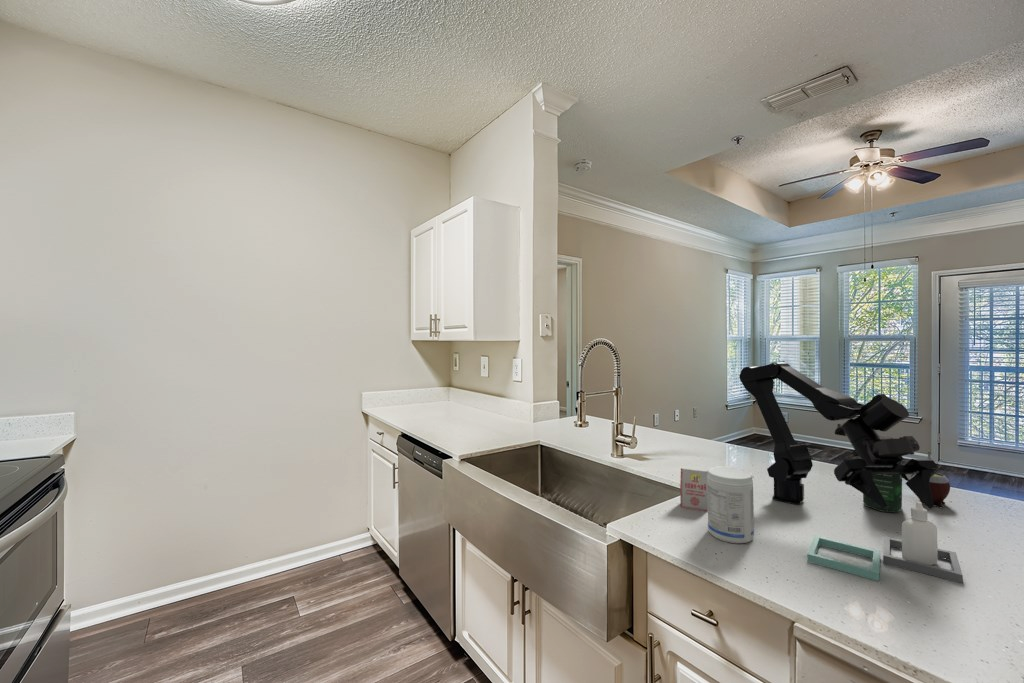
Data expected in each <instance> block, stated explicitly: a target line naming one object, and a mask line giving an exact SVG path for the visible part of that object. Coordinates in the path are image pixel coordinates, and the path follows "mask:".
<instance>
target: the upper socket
mask: <svg viewBox="0 0 1024 683" xmlns="http://www.w3.org/2000/svg"><path fill="white" fill-rule="evenodd" d="M882 545H883V548H882V549H883V550H882V563H883V564H885V565H890V566H893V567H899V568H901V569H906V570H910V571H912V572H913V571H914V572H918V573H921V574H924V573H925V575H928V574H929V576H932V575H933V577H936V576H937V578H940V579H944V578H945V580H948V579H949V580H948V581H951V582H957V583H959V584H963V582H964V581H963V578H964V576H963V572H962V569H961V565H960V562H959V559H958V555H957V552H955V551H951V550H946V549H942V548H938V557H941V558H940V559H943V558H946V559H945V560H947V559H949V560H950V561H949V560H948V561H949V564H950V567H951V568H950V569H947V568H944V567H939V566H935V565H928V564H924V563H920V562H915V561H911V560H907V559H903V558H902V557H898V556H894V555H891V546H893V548H895V547H897V549H900V548H901V550H902V539H898V538H892V537H889V536H884V535H883V544H882Z"/></svg>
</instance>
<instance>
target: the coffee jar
mask: <svg viewBox="0 0 1024 683" xmlns="http://www.w3.org/2000/svg"><path fill="white" fill-rule="evenodd" d="M879 436H880V438H881V439H894V438H893V437H890V436H882V435H879ZM897 463H898V465H903V460H902V461H898V462H897ZM872 478H873V481H874V483H875V485H876V486H877V488H878V490H879V491H880V493H881V495H882V496H883V498H884V500H885V502H886V504H887V507H886V508H882V507H880V506H879V505H878V504H876V503H875V502H874V501H872V500H871V499H870V498H868V497H867V496H866V495H864V494H863V493H862V499H863V500H862V502H863V505H865V506H866V507H869V508H871V509H874V510H876V511H879V510H880V512H884V511H886V512H892V513H899V512H900V511H901V510H902V508H903V478H902V476H901V475H900V474H872ZM886 512H885V513H886Z"/></svg>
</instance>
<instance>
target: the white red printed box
mask: <svg viewBox="0 0 1024 683" xmlns="http://www.w3.org/2000/svg"><path fill="white" fill-rule="evenodd" d="M707 475H708V470H699V469H688V468H680V482H679V483H680V486H679V487H680V488H679V491H680V494H679V496H680V499H679V500H680V508H684V509H690V510H697V511H703V512H708V503H707Z"/></svg>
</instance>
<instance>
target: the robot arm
mask: <svg viewBox="0 0 1024 683" xmlns="http://www.w3.org/2000/svg"><path fill="white" fill-rule="evenodd" d="M738 376H739V380H740V382H741V384H742V385H743V388H744V389H745V390H746V392H748V393H749V394H750V395H751V396H753V397H754V399H755V401H756V403H757V406H758V408H759V411H760V413H761V415H762V417H763V418H762V419H763V420H764V421H765V424H766V427H767V429H768V432H769V434H770V436H771V439H772V441H773V443H774V444H773V445H774V446H773V447H774V449H773V458H774V461H775V462H773V463H772V464H771V465H770V466H769V467H767V468H766V469H767V474H768V477H770V478H773V495H772V500H775V501H779V502H784V503H788V504H793V505H797V506H798V505H801V503H802V502H804V500H805V484H804V483H802V481H803V480H802V479H806V478H807V477H808V474H809V473H810V472H811V471H812V468H813V466H814V464H813V456H812V455H811V454H810V452H809V448H808V446H807V445H806V444H803V443H802V444H799V443H798V441H796V440H795V438H794V436H793V434H792V433H791V430H790V428H789V425H788V423H787V421H786V419H785V417H784V414H783V412H782V410H781V408H780V405H779V404H778V401H777V399H776V397H775V394H774V386H775V382H774V380H777V379H778V380H779V381H781V382H782V383H784V384H785V385H787V386H789V387H790V388H791V389H793V390H794V391H795V392H796V393H798V394H800V395H801V396H803V397H805V398H806V399H807V400H809V401H810V402H811V403H812V405H813V407H814V409H815V410H816V411H817V412H818V413H819V414H820V415H821V416H822V418H824V419H826V420H828V421H844V420H847V421H845V422H844V423H841V424H840V423H838V424H837V426H836V428H835V430H834V435H837V436H843V437H846V438H847V440H848V441H849V444H851V446H852V447H853V450H852V452H851V453H852V455H853V457H859V458H843V459H842V460H841V461H840V462H839V464H837V466H836V467H835V468H834V469H833V474H834V476H835V478H836V480H837V481H838V482H844V483H845V485H846V486H848V485H849V486H851V487H852V488H854V489H856V490H857V491H859V492H860V493H861V494H862V495H863V494H864V495H866V496H867V497H868V498H870V499H871V500H872V501H874V502H875V503H876V504H878V505H879V506H880V507H882V508H886V507H887V504H886V502H885V500H884V498H883V496H882V495H881V493H880V491H879V490H878V488H877V486H876V485H875V483H874V481H873V478H872V474H900V475H901V476H902V480H904V481H905V485H906V486H907V487H908V488H909V489H910V490H911V491H912V492H913V494H914V495H915V496H916V497H917V498H918V499H919V501H920V500H921V501H922V502H923V503H924V506H926V507H927V509H929V510H930V509H933V508H934V507H935V505H934V503H933V499H932V494H931V490H930V482H929V481H930V478H931V477H932V476H933V475H934V474H935V473H938V471H940V467H939V466H938V464H937V463H936V462H935V460H933V459H931V460H930V459H927V458H910V460H908V461H907V462H906V463H905V464H902V465H898V463H897V462H898V461H902V462H903V460H904V457H903V456H908V455H911V456H912V455H915V452H917V451H919V450H920V448H921V447H920V444H919V442H918V441H917V440H916V438H915V437H914V436H913V435H904V436H901V437H899V438H893V439H881V438H880V436H881V435H879V434H878V432H877V431H880V432H883V433H884V432H887V431H889V430H890V429H892V428H894V427H896V425H898V424H900V423H902V421H904V420H907V418H908V417H910V413H909V411H908V409H907V408H906V407H905V406H904V405H903V404H902V403H899V402H898V401H896V400H895V399H892V398H890V397H888V396H887V395H886V394H885V393H879V394H878V393H877V394H876V395H874V396H873V397H872V398H871V400H869V401H868V402H866V403H861V402H858V401H857V400H856V399H854V398H853V397H851V396H848V395H847V394H844V393H841V392H840V391H836V390H831V389H829V388H827V387H824V386H823V385H821V384H819V383H818V382H816V381H814V379H811V378H810V377H808V376H807V375H805V374H803V373H802V372H800V371H798V370H797V369H795V368H794V367H792V366H791V365H790V364H789V363H787V362H785V361H783V362H782V361H781V362H780V361H779V362H772V363H769V364H766V365H765V364H764V365H761V366H759V365H758V366H746V367H743V368H742V369H741V370H740V374H739V375H738Z"/></svg>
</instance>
